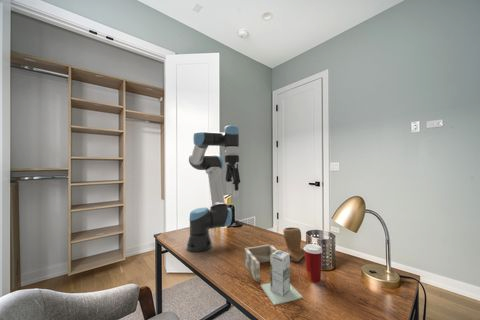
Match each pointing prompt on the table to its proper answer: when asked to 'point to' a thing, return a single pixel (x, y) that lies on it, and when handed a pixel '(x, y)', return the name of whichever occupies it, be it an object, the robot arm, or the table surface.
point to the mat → (279, 299)
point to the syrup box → (280, 272)
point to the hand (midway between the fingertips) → (232, 195)
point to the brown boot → (293, 243)
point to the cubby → (257, 258)
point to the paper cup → (313, 262)
